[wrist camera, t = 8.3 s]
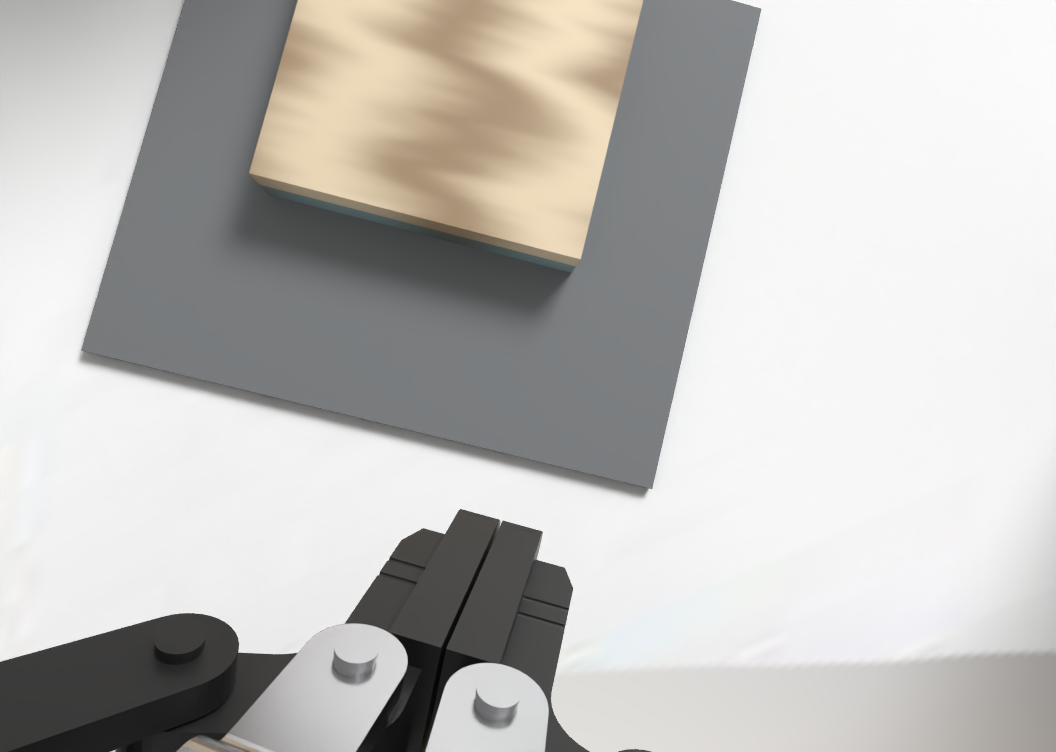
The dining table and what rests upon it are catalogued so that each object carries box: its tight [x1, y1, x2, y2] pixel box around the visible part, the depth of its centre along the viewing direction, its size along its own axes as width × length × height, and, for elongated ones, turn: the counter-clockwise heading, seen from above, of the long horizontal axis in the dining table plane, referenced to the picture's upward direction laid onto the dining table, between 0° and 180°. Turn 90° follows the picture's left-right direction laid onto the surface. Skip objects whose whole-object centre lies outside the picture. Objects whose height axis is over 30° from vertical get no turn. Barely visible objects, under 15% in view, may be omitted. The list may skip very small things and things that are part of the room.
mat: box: [82, 0, 761, 489], centre depth 29 cm, size 22×20×1 cm
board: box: [249, 0, 643, 273], centre depth 28 cm, size 12×2×12 cm
